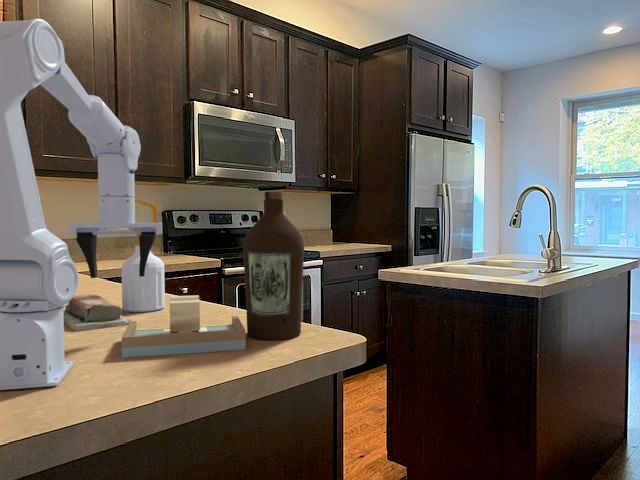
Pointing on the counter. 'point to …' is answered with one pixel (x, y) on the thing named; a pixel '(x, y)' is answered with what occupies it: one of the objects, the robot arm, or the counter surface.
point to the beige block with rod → (184, 313)
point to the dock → (182, 340)
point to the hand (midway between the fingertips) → (118, 276)
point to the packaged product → (92, 313)
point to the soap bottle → (143, 280)
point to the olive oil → (273, 274)
